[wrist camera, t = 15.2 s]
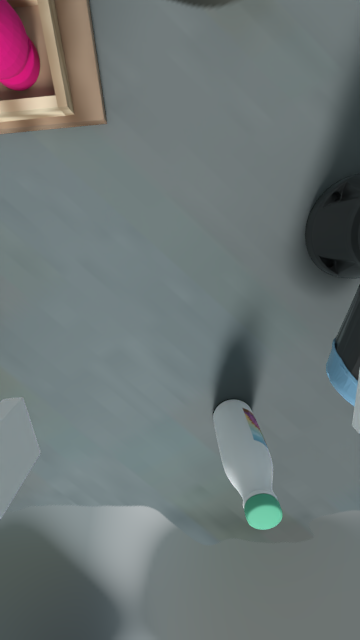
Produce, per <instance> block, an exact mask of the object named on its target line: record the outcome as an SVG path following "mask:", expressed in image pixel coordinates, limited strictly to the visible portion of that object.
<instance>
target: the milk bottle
mask: <svg viewBox="0 0 360 640" xmlns="http://www.w3.org/2000/svg"><path fill="white" fill-rule="evenodd" d="M213 421H214V427H215V431H216V436H217V441H218V446H219V450H220V455H221V459H222V463H223V467H224V470H225V472H226V475H227V477H228V478H229V480H230V482H231V483H232V484H233V486H234V487H235V488H236V489H237V490H238V492H239V493H240V495H241V496H242V498H243V507H244V511H245V516H246V519H247V521H248V523H249V524H250V525H251V526H252V527H254V528H256V529H262V530H264V529H270V528H272V527H274V526H276V525H277V524H278V523H279V522H280V521H281V519H282V510H281V507H280V504H279V502H278V500H277V497H276V495H275V494H274V493H273V489H272V479H273V464H272V459H271V455H270V452H269V450H268V447H267V445H266V442H265V440H264V438H263V435H262V433H261V431H260V428H259V426H258V424H257V421H256V419H255V417H254V415H253V412H252V410H251V408H250V407H249V406H248V405H247V404H246V403H245V402H243V401H240V400H236V399H232V400H227V401H224V402H222V403H221V404H219V405H218V407H217V408H216V409H215V411H214V414H213Z"/></svg>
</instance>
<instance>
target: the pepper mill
mask: <svg viewBox="0 0 360 640" xmlns="http://www.w3.org/2000/svg"><path fill="white" fill-rule="evenodd" d="M39 71H40V60H39V55H38V52H37V50H36V48H35V46H34V44H33V42H32V41H31V40H30V38H29V37H28V35H27V34H26V31H25V28H24V26H23V23H22V21H21V19H20V18H19V16H18V14H17V13H16V12H15V10H14V9H13V8H12V7H11V5H10V4H9V3H8V2H7V1H6V0H0V82H1V83H2V84H3V85H4V86H6V87H7V88H9V89H12V90H16V91H22V90H26V89H29V88H30V87H31V86H32V85H33V84H34V83H35V82H36V80H37V78H38V76H39Z"/></svg>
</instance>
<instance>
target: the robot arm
mask: <svg viewBox="0 0 360 640" xmlns="http://www.w3.org/2000/svg"><path fill="white" fill-rule="evenodd" d="M306 246H307V250H308V253H309V255H310V257H311V259H312V260H313V262H314V263H315V264H316V265H317V266H318V267H319V268H320V269H321V270H323V271H324V272H326V273H328V274H331V275H334V276H338V277H342V278H360V174H357V175H354V176H350V177H347V178H345V179H343V180H340V181H339V182H337V183H335V184H334V185H332V186H331V187H330V188H329V189H327V190H326V191H325V192H324V193H323V194H322V195H321V197H320V198H319V199H318V201H317V202H316V203H315V205H314V207H313V209H312V211H311V213H310V215H309V218H308V221H307V226H306ZM326 372H327V375H328V377H329V379H330V382H331V384H332V385H333V386H334V388H335V389H336V390H337V391H338V392H339V393H340V395H341V396H343V397H344V398H345V399H346V400H347V401H348V402H349V403H350V404H352V405H353V406H354V414H353V422H352V426H353V427H354V428H355V429H356V431H357V432H358V433H359V434H360V285H359V288H358V290H357V292H356V294H355V297H354V299H353V301H352V304H351V306H350V308H349V310H348V313H347V315H346V317H345V319H344V321H343V324H342V326H341V328H340V330H339V332H338V335H337V337H336V338H335V339H334V340H333V343H332V350H331V353H330V356H329V358H328V361H327V364H326ZM40 454H41V452H40V448H39V445H38V442H37V439H36V436H35V433H34V430H33V426H32V423H31V420H30V417H29V414H28V411H27V408H26V404H25V401H24V398H23V397H18V398H7V399H3V400H2V401H1V402H0V520H1V518H2V516H3V515H4V513H5V511H6V510H7V508H8V506H9V505H10V503H11V502H12V500H13V498H14V497H15V495H16V493H17V492H18V490H19V488H20V487H21V485H22V483H23V482H24V480H25V478H26V477H27V475H28V473H29V472H30V470H31V469H32V467H33V465H34V464H35V462H36V460H37V459H38V457H39V455H40Z"/></svg>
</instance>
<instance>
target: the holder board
mask: <svg viewBox="0 0 360 640" xmlns="http://www.w3.org/2000/svg"><path fill="white" fill-rule="evenodd" d="M6 1H7V2H8V3H9V4H10V5H11V7H12V8H13V9H14V10H15V12H16V13H17V14H18V16H19V18H20V19H21V21H22V23H23V26H24V28H25V31H26V34H27V35H28V37H29V38H30V40H31V41H32V42H33V44H34V46H35V48H36V50H37V52H38V55H39V60H40V71H39V76H38V78H37V80H36V82H35V83H34V84H33V85H32V86H31V87H30V88H29V89H26V90H22V91H16V90H12V89H9V88H7V87H6V86H4V85H3V84H2V83H1V82H0V134H5V133H15V132H26V131H36V130H46V129H57V128H67V127H77V126H88V125H98V124H107V121H106V114H105V107H104V100H103V94H102V87H101V80H100V73H99V67H98V60H97V53H96V46H95V40H94V33H93V26H92V19H91V13H90V6H89V0H6Z"/></svg>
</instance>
